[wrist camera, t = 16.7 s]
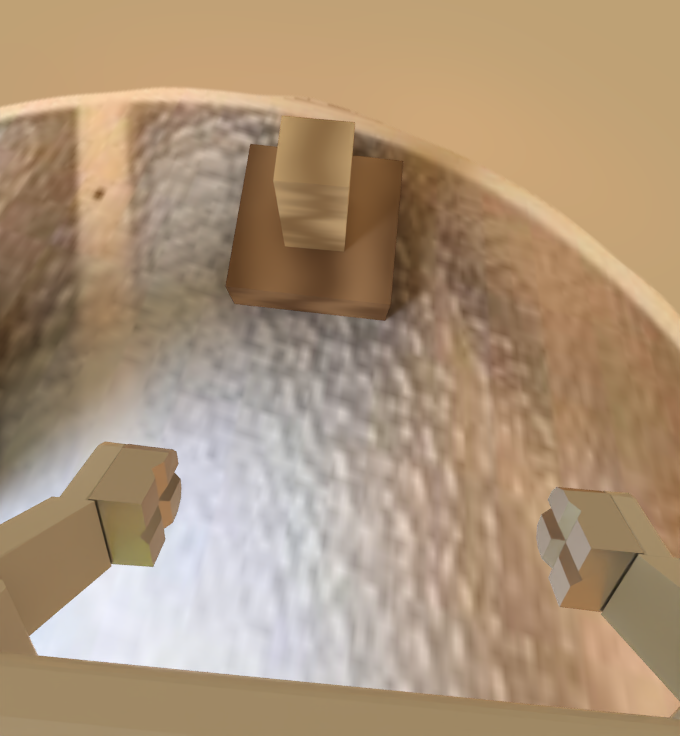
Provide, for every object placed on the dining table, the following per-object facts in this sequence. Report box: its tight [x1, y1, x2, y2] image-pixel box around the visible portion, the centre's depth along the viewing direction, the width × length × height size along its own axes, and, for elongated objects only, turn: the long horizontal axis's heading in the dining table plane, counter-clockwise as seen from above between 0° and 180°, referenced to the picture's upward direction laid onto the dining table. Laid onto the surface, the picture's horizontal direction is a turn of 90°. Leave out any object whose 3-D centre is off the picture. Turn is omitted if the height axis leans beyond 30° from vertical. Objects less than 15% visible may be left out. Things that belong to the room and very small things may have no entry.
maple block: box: [273, 116, 355, 252], centre depth 32 cm, size 4×4×8 cm
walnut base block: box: [226, 144, 403, 321], centre depth 38 cm, size 12×12×4 cm
